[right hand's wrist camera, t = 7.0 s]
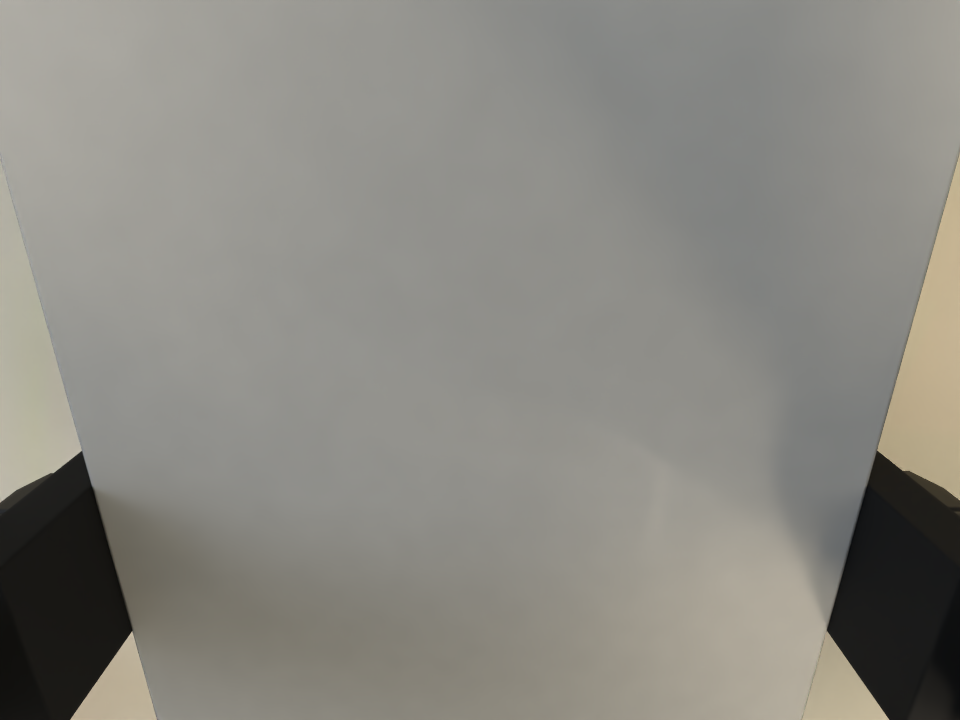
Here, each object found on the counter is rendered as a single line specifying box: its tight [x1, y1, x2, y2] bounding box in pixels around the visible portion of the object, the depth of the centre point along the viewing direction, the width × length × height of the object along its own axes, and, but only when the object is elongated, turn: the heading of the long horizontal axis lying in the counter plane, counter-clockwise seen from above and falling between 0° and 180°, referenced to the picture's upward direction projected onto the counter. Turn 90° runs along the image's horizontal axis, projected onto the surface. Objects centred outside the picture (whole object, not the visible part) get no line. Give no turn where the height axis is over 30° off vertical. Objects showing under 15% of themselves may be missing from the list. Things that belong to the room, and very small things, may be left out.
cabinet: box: [0, 0, 960, 720], centre depth 12 cm, size 17×11×9 cm, turn 0°
